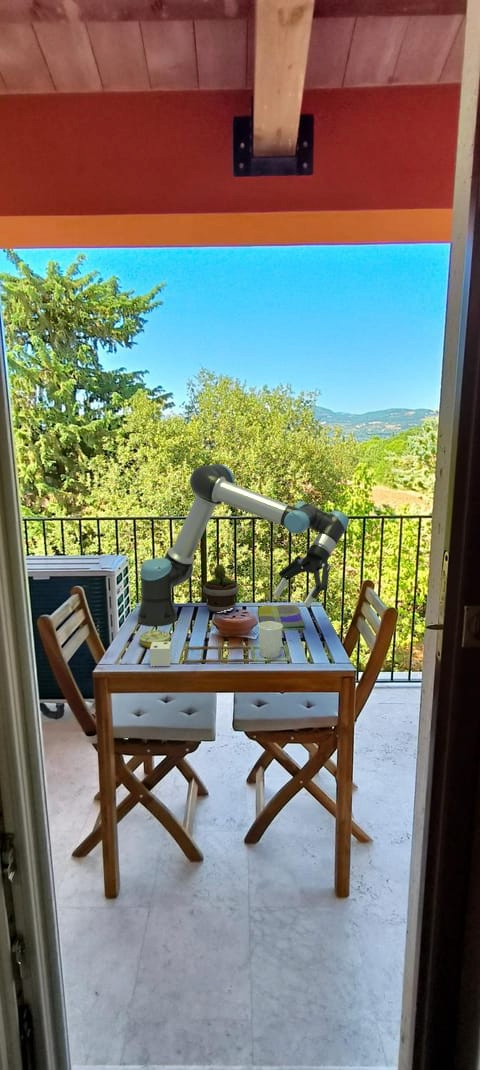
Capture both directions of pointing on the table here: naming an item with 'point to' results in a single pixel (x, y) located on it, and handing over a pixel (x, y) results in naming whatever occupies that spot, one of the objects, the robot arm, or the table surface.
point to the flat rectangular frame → (234, 659)
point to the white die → (160, 654)
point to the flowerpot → (220, 591)
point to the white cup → (270, 639)
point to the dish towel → (282, 616)
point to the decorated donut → (153, 637)
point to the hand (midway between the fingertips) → (290, 600)
